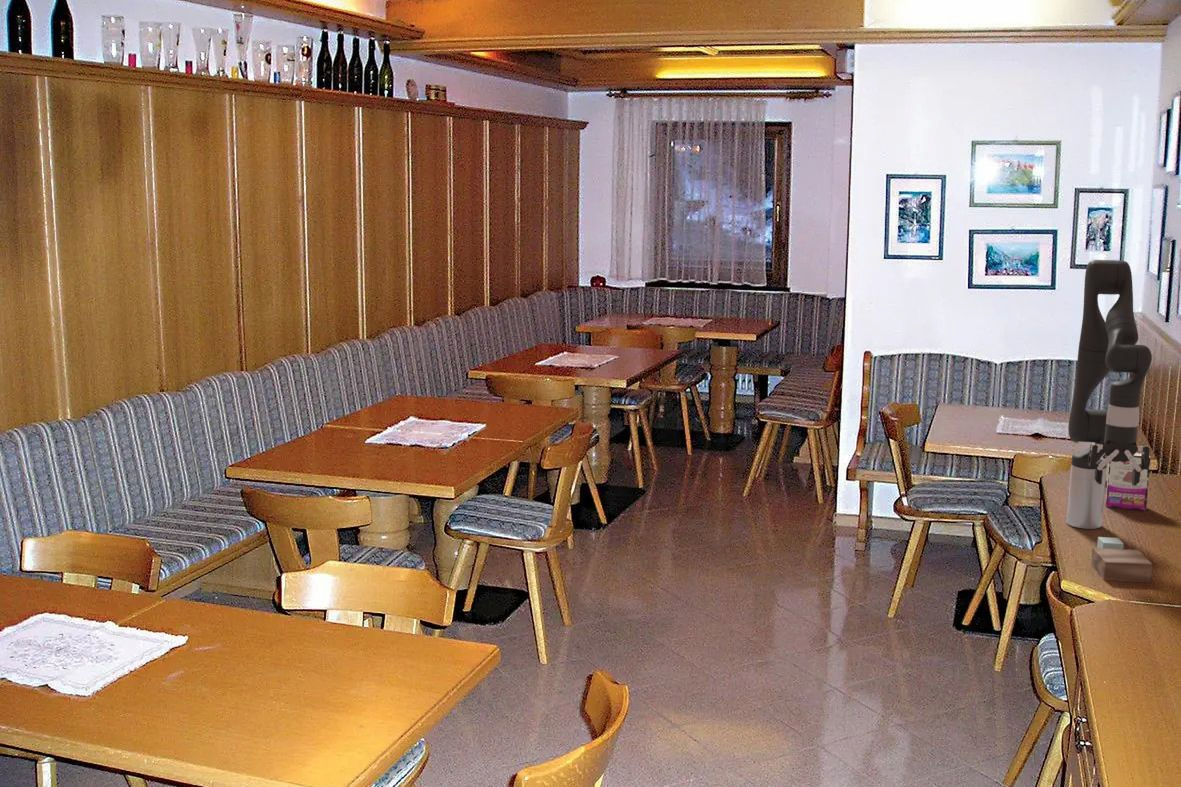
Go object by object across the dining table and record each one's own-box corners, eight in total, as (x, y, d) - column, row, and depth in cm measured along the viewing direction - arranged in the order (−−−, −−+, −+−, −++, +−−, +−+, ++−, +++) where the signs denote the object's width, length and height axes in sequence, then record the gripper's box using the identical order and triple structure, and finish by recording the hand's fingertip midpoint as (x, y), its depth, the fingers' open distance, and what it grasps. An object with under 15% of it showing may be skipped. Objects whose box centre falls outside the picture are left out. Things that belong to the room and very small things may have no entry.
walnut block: (1090, 566, 305) (1092, 547, 304) (1136, 568, 304) (1138, 549, 303) (1103, 581, 295) (1105, 562, 294) (1150, 583, 293) (1152, 564, 292)
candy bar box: (1145, 506, 358) (1150, 453, 355) (1146, 511, 354) (1151, 457, 350) (1104, 502, 362) (1109, 449, 359) (1105, 507, 358) (1109, 453, 355)
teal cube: (1096, 555, 314) (1098, 536, 313) (1116, 556, 313) (1118, 537, 312) (1101, 561, 309) (1103, 542, 308) (1122, 562, 308) (1123, 543, 307)
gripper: (1147, 420, 306) (1141, 481, 310) (1088, 418, 308) (1083, 479, 312) (1156, 426, 299) (1150, 489, 302) (1096, 424, 301) (1090, 487, 304)
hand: (1116, 484), depth 307 cm, fingers open, 8 cm apart
